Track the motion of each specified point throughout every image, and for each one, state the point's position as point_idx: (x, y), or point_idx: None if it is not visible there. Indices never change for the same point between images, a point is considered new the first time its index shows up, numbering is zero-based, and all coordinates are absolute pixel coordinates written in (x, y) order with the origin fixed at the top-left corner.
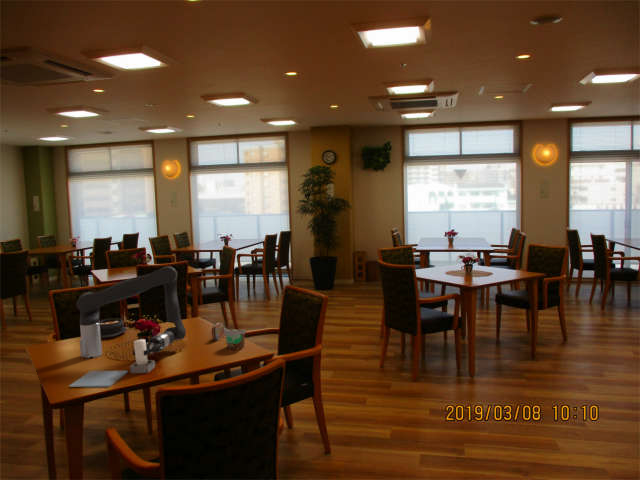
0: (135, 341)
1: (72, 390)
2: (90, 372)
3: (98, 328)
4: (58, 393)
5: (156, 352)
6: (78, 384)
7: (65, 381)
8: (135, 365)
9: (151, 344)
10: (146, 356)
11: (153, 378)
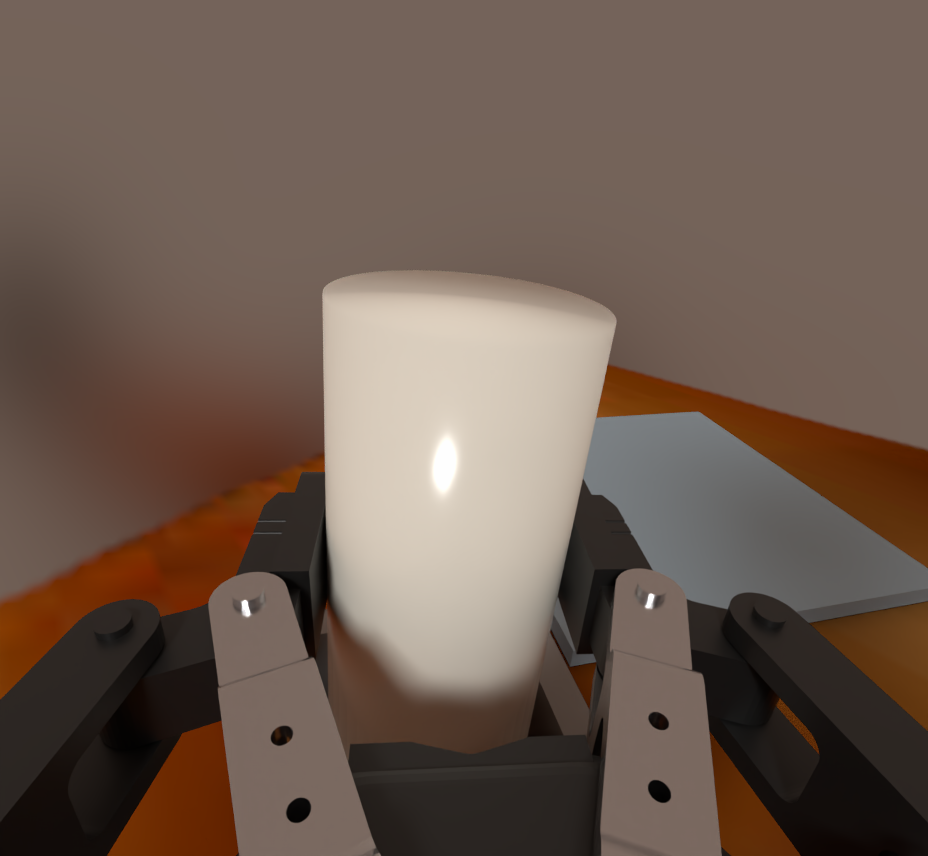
0: (541, 293)
1: (632, 407)
2: (899, 561)
3: None
4: (660, 389)
5: (95, 746)
6: (667, 423)
7: (852, 469)
8: (541, 711)
9: (336, 824)
10: (327, 624)
11: (140, 567)
